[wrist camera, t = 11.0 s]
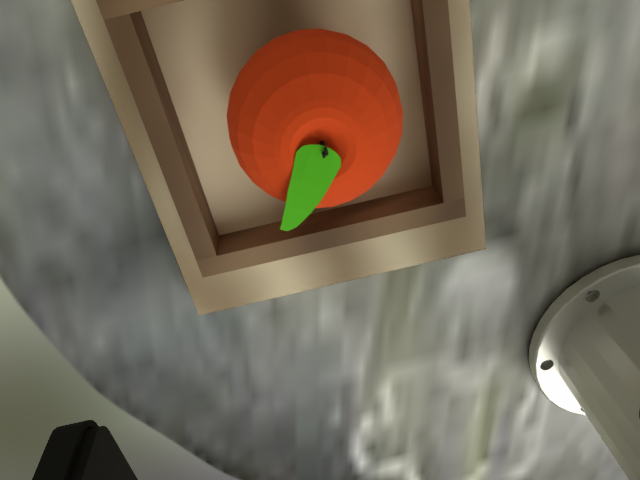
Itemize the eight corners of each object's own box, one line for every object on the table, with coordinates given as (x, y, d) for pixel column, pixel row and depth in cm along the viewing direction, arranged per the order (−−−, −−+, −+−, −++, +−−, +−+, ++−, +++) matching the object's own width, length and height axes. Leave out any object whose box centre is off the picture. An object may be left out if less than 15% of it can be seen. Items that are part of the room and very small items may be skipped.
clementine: (343, 204, 28) (367, 284, 22) (206, 164, 26) (191, 239, 20) (408, 47, 25) (459, 90, 18) (256, -11, 23) (256, 16, 17)
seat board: (443, -204, 21) (474, -225, 18) (476, 235, 32) (500, 268, 28) (41, -106, 22) (6, -110, 19) (201, 299, 32) (195, 339, 29)
